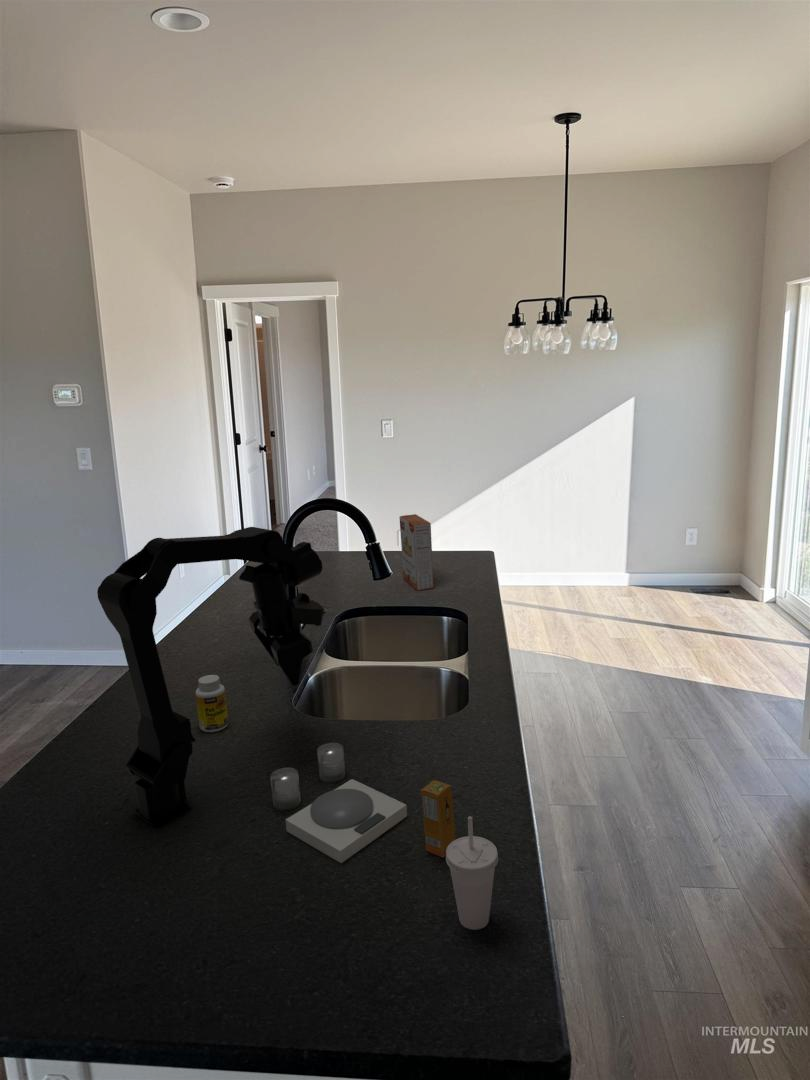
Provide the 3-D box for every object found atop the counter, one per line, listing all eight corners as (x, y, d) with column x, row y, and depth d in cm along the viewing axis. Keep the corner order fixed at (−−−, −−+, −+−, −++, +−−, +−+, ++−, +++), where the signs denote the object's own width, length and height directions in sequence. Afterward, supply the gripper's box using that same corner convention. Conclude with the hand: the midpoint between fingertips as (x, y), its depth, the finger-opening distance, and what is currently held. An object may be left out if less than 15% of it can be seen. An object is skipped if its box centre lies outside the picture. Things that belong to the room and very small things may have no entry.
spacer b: (331, 785, 125) (329, 758, 124) (314, 776, 128) (311, 750, 127) (350, 774, 128) (348, 747, 127) (333, 766, 131) (330, 740, 130)
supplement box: (437, 838, 110) (434, 777, 107) (456, 847, 107) (454, 785, 105) (423, 850, 107) (420, 788, 105) (442, 859, 105) (439, 796, 103)
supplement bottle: (205, 736, 144) (199, 687, 141) (196, 725, 148) (189, 678, 146) (233, 727, 147) (227, 679, 144) (223, 717, 151) (217, 670, 149)
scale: (341, 863, 105) (339, 847, 105) (286, 831, 113) (285, 816, 113) (407, 816, 115) (406, 801, 115) (352, 789, 123) (351, 775, 123)
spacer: (285, 813, 118) (282, 785, 116) (267, 804, 121) (264, 776, 119) (306, 801, 121) (303, 773, 120) (288, 791, 124) (286, 764, 123)
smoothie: (495, 899, 97) (493, 803, 94) (503, 936, 91) (501, 835, 87) (446, 902, 97) (442, 806, 93) (451, 939, 90) (446, 838, 87)
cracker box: (402, 579, 239) (398, 515, 234) (419, 577, 241) (416, 513, 236) (415, 591, 226) (412, 524, 221) (434, 588, 227) (431, 521, 223)
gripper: (333, 599, 126) (347, 680, 131) (297, 569, 142) (311, 643, 147) (270, 619, 122) (287, 702, 127) (241, 586, 138) (257, 660, 143)
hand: (287, 674), depth 136 cm, fingers open, 9 cm apart
